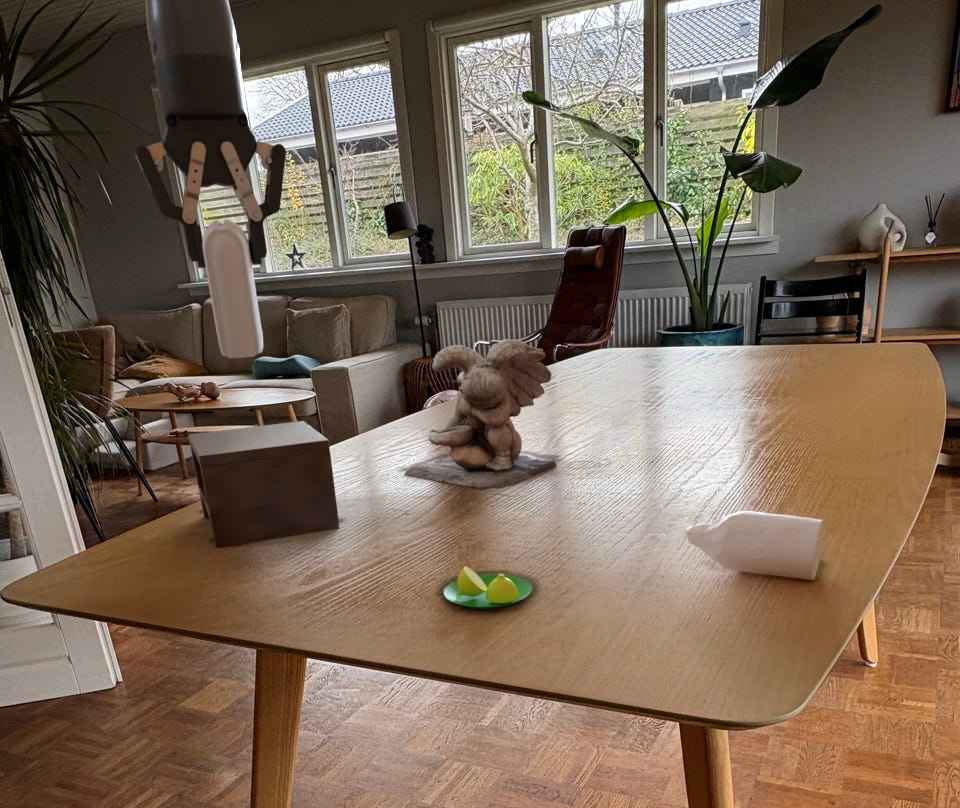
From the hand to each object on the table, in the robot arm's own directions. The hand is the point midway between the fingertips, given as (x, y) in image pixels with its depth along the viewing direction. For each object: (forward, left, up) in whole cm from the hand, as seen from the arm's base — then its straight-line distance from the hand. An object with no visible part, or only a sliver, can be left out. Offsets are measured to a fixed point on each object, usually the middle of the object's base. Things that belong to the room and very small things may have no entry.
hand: (229, 265), depth 82 cm
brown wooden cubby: (+1, +8, -28) cm, 29 cm away
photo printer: (0, 0, -9) cm, 9 cm away
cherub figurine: (+33, +18, -29) cm, 47 cm away
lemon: (+15, -27, -29) cm, 42 cm away
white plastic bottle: (+39, -33, -29) cm, 59 cm away
